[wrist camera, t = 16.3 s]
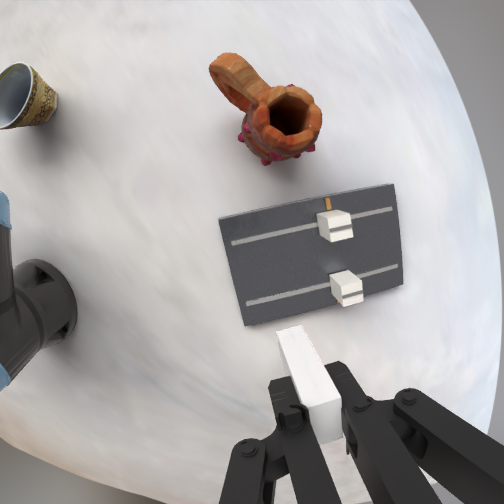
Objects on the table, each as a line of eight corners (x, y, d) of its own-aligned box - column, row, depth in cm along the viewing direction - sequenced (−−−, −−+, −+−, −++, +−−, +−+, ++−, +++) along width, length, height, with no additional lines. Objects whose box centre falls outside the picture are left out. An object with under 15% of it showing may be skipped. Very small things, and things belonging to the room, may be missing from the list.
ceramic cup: (69, 71, 35) (37, 52, 25) (64, 128, 37) (28, 119, 27) (12, 91, 34) (-22, 81, 24) (8, 144, 36) (-29, 141, 27)
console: (244, 320, 46) (244, 327, 44) (218, 218, 42) (218, 220, 40) (397, 280, 46) (404, 284, 44) (387, 183, 42) (394, 184, 40)
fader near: (319, 235, 41) (331, 242, 36) (316, 213, 40) (327, 218, 35) (339, 230, 41) (354, 237, 36) (336, 209, 40) (350, 213, 35)
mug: (313, 139, 40) (354, 120, 26) (274, 179, 41) (297, 177, 27) (239, 70, 37) (244, 21, 23) (198, 108, 38) (182, 72, 24)
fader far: (331, 293, 43) (343, 307, 38) (329, 274, 43) (341, 286, 38) (350, 288, 43) (364, 301, 38) (348, 269, 43) (362, 281, 38)
